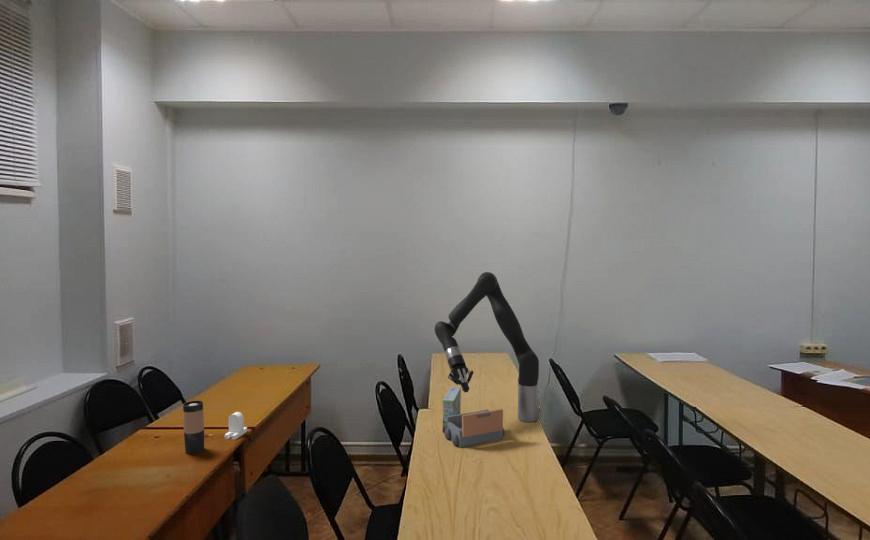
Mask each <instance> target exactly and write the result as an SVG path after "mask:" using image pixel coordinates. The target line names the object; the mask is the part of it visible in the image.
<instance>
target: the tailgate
mask: <svg viewBox="0 0 870 540" xmlns="http://www.w3.org/2000/svg"><path fill="white" fill-rule="evenodd" d="M503 428H504V409H503V408H498V409H491V410H489V411H485V412H479V413H473V414H467V415H462V437H468V436H473V435H479V434H484V433H490V432H495V431H501V430H503Z"/></svg>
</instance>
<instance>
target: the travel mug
mask: <svg viewBox="0 0 870 540" xmlns="http://www.w3.org/2000/svg"><path fill="white" fill-rule="evenodd" d="M182 415H183V417H182V418H183V439H184V450H185V453H186V454H187V455H196V454H200V453H202V452H203V451H204V450H205V419H204V418H205V417H204V402H203V401H202V400H191V401H187V402H184V403H183V405H182Z"/></svg>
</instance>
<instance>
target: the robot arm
mask: <svg viewBox="0 0 870 540" xmlns="http://www.w3.org/2000/svg"><path fill="white" fill-rule="evenodd" d="M485 297H487V299H488V301H489V303H490V305H491V309H492V312H493V316H494V318H495V320H496V323H497V325H498V327H499V328H500V330H501V332H502V333H503V335H504V337H505V338H506V340H507V341H508V342H509V344H510V345H511V347H512V350H513V353H514V355H515V356H516V360H517V363H518V377H517V419H518V420H519V421H521V422H524V423H534V422H537V421H538V420H540V399H538V393H539V392H538V389H539V388H538V385H539V384H538V383H539V373H540V372H539V371H540V366H539V365H540V361H539V357H538V356H537V354H536V353H535V352H534V351H533V349H532V347H531V346H530V345H529V343H528V341H527V340H526V338H525V335H524V333H523V329H522V326H521V324H520V321H519V320H518V318H517V316H516V314H515V312H514V311H513V308H512V307H511V306H510V303H509V302H508V300H507V299H506V297H505V295H504V293H503V292H502V289H501V287H500V284H499V282H498V279H497V277H496V275H495V274H494V273H493V272H489V271H485V272H483V273H481V274H480V275H479V277H478V278H477V280H476V282H475V284H474V286H473V287H472V289H471V290H470V292H469V293H468V294H467V296H465V297H464V298H462V300H461V301H460V302H459V303H458V304H457V305H456V306H455V307H454V308H453V309H452V310H451V312H450V313H448V320H449V322H446V321H437V323H435V325H434V333H435V335H436V338H437V339H438V340H439V343H440V344H441V345H442V347H443V351H444V353H445V357H446V361H447V364H448V367H449V370H450V373H449V374H448V375H447V378H448V379H449V380H450V381H452V382H453V383H454V384H455V385H456V386H459V385H460V386H461V387H460V388H461V391H462V392H464V393H468V392H469V391H470V387H469V383H470V381H471V379H472V377H473V375H474V370H469V368H468V367H467V365H466V361H465V359H464V356H463V353H462V352H461V349H460V347H459V345H458V344H459V343H458V342H457V339H456V338H454V335H456V333H457V331H458V329H459V328H460V325H461V323H462V322H463V321H464V320H465V319H466V318H467V317H468V315H470V313H471V312H472V311H473V309H474V308H475V307H476V306H477V305H478V304H479V302H481V301H482V300H483V299H484V298H485Z"/></svg>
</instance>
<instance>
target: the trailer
mask: <svg viewBox="0 0 870 540" xmlns="http://www.w3.org/2000/svg"><path fill="white" fill-rule="evenodd" d="M485 411H490V410H489V409H484V410H477V411H473V412H472V411H471V412H465V413H460V414H458V415H452V416H446V429H445V431H444V432H443V433H444V437H445V439H446V440H452V441H451V442H452V444H453V446H455V447H456V446H458V447H459V448H463V447H468V446H473V445H479V444H478V443H480V444H484V443H483V442H485V443H489V441H490V442H495V441H500V440H504V437H505V433H506V432H505V429H504V427H503V430H501V431H495V432H490V433H484V434H479V435H473V436H468V437H462V415H467V414H473V413H479V412H485ZM494 440H495V441H494Z"/></svg>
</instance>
